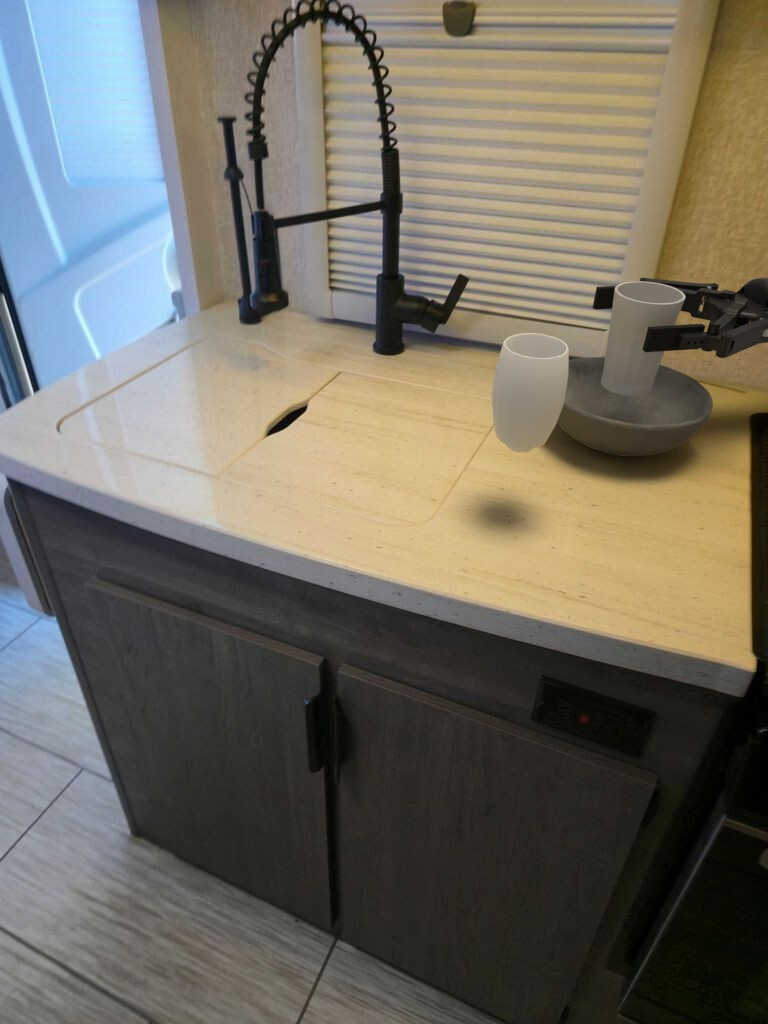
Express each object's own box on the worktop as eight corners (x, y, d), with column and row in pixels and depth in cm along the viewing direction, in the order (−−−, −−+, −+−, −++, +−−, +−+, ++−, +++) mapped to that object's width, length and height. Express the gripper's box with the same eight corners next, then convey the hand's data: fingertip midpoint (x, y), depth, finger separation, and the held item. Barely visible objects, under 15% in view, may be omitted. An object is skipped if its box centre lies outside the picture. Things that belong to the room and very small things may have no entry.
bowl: (516, 458, 86) (524, 402, 81) (552, 391, 101) (561, 341, 97) (688, 499, 79) (709, 441, 75) (700, 421, 95) (718, 369, 90)
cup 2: (590, 392, 84) (610, 298, 77) (598, 367, 90) (619, 277, 82) (656, 404, 81) (684, 308, 74) (660, 377, 87) (686, 286, 80)
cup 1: (471, 499, 79) (490, 331, 66) (530, 496, 79) (560, 329, 67) (484, 538, 73) (508, 362, 60) (548, 534, 74) (585, 359, 61)
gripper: (836, 380, 75) (663, 392, 72) (713, 303, 95) (572, 311, 92) (866, 315, 71) (682, 326, 68) (730, 249, 90) (583, 255, 87)
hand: (619, 317), depth 80 cm, fingers open, 13 cm apart
